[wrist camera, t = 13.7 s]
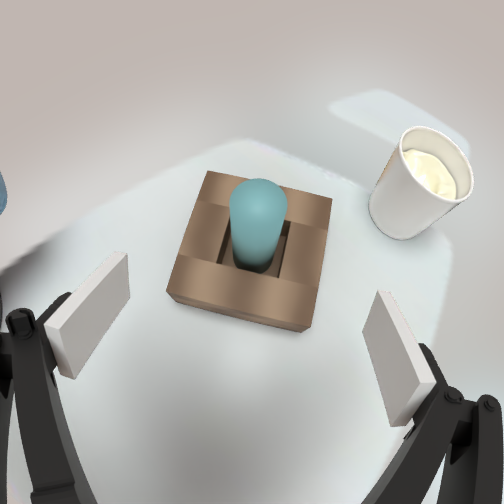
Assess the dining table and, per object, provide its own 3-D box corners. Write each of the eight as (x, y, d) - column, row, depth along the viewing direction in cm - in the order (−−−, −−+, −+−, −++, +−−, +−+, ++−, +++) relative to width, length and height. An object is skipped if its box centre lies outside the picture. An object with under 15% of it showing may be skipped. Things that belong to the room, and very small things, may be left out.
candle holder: (350, 188, 40) (382, 129, 29) (405, 175, 41) (443, 122, 30) (383, 255, 37) (432, 211, 26) (436, 234, 38) (487, 192, 27)
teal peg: (228, 270, 34) (222, 221, 23) (238, 233, 36) (237, 173, 25) (268, 279, 34) (281, 235, 23) (276, 242, 36) (292, 185, 24)
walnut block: (175, 301, 34) (165, 291, 29) (211, 193, 39) (207, 170, 34) (300, 332, 33) (310, 326, 29) (322, 219, 38) (332, 198, 33)
